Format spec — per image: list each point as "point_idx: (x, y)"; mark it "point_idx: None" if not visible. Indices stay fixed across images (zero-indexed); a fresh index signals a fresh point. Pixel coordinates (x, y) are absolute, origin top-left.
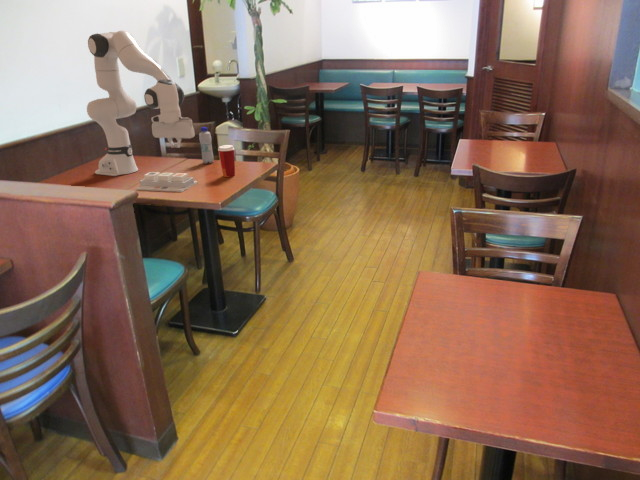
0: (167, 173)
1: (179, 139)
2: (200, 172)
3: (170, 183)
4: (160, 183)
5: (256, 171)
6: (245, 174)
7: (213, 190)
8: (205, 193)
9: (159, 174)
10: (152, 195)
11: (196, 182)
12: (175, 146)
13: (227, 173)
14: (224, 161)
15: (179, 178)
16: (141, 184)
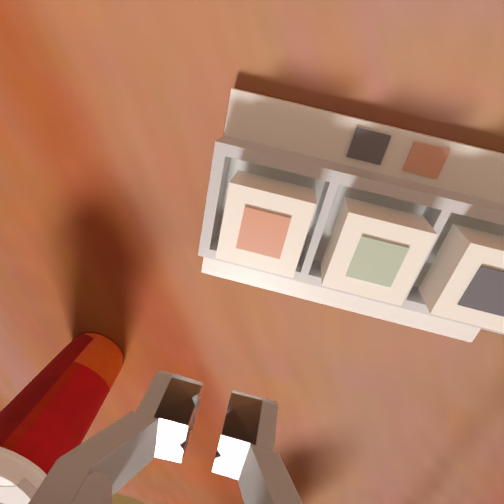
0: (366, 271)
1: (45, 484)
2: None
3: (326, 166)
4: (405, 185)
5: (14, 386)
6: (36, 357)
7: (52, 110)
8: (69, 43)
9: (433, 294)
10: (436, 8)
11: (204, 259)
12: (199, 391)
13: (80, 343)
14: (46, 392)
15: (255, 183)
16: None
